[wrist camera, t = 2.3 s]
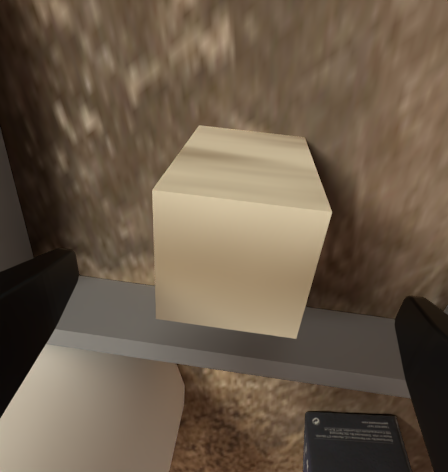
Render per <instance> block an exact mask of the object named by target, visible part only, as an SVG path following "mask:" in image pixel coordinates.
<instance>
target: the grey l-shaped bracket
mask: <svg viewBox="0 0 448 472" xmlns="http://www.w3.org/2000/svg"><path fill="white" fill-rule="evenodd" d="M33 258H34V257H33V253H32V249H31V245H30V242H29V238H28V234H27V230H26V226H25V222H24V218H23V214H22V210H21V206H20V203H19V199H18V195H17V191H16V187H15V183H14V179H13V175H12V171H11V168H10V164H9V160H8V156H7V152H6V148H5V144H4V140H3V136H2V132H1V129H0V272H1V271H3V270H6V269H8V268H11V267H13V266H16V265H18V264H20V263H23V262H25V261H28V260H30V259H33ZM444 312H445V313H446V314H448V305H447V307H446V308H445V310H444ZM46 344H48V345H55V346H62V347H68V348H75V349H82V350H88V351H95V352H102V353H109V354H115V355H122V356H129V357H136V358H142V359H149V360H156V361H162V362H169V363H176V364H183V365H189V366H196V367H203V368H209V369H216V370H223V371H230V372H236V373H243V374H250V375H257V376H263V377H270V378H277V379H283V380H290V381H297V382H304V383H310V384H317V385H324V386H330V387H337V388H344V389H351V390H357V391H364V392H371V393H377V394H384V395H391V396H398V397H404V398H411V397H410V394H409V391H408V388H407V384H406V381H405V376H404V372H403V367H402V362H401V357H400V352H399V346H398V341H397V336H396V331H395V319H390V318H383V317H375V316H368V315H361V314H354V313H346V312H339V311H332V310H325V309H318V308H310V307H305V310H304V313H303V317H302V320H301V324H300V327H299V331H298V334H297V338H296V339H294V338H287V337H280V336H273V335H266V334H259V333H252V332H244V331H237V330H230V329H223V328H216V327H209V326H202V325H195V324H188V323H181V322H174V321H167V320H160V319H156V302H155V286H151V285H144V284H137V283H129V282H122V281H115V280H108V279H100V278H93V277H86V276H79V279H78V282H77V284H76V287H75V289H74V291H73V293H72V295H71V297H70V299H69V301H68V303H67V306H66V308H65V310H64V312H63V314H62V316H61V318H60V320H59V322H58V324H57V326H56V328H55V330H54V332H53V333H52V335H51V337H50V338H49V340H48V342H47V343H46Z"/></svg>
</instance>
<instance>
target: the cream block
mask: <svg viewBox="0 0 448 472" xmlns="http://www.w3.org/2000/svg"><path fill="white" fill-rule="evenodd" d="M152 195H153V231H154V266H155V302H156V319H160V320H167V321H174V322H181V323H188V324H195V325H202V326H209V327H216V328H223V329H230V330H237V331H244V332H252V333H259V334H266V335H273V336H280V337H287V338H294V339H296V338H297V334H298V331H299V327H300V324H301V320H302V317H303V313H304V310H305V306H306V303H307V299H308V296H309V292H310V289H311V285H312V282H313V278H314V275H315V271H316V267H317V264H318V260H319V257H320V253H321V250H322V246H323V243H324V239H325V236H326V232H327V229H328V225H329V222H330V218H331V215H332V210H331V208H330V205H329V202H328V199H327V197H326V194H325V191H324V189H323V186H322V183H321V180H320V178H319V175H318V172H317V170H316V167H315V164H314V161H313V159H312V156H311V153H310V151H309V148H308V145H307V142H306V140H305V137H297V136H288V135H280V134H271V133H262V132H253V131H245V130H236V129H227V128H218V127H209V126H201V125H199V126H198V128H197V129H196V131H195V132H194V133H193V135H192V136H191V137H190V139H189V140H188V142H187V143H186V144H185V146H184V147H183V148H182V150H181V151H180V153H179V154H178V155H177V157H176V158H175V159H174V161H173V162H172V164H171V165H170V166H169V168H168V169H167V170H166V172H165V173H164V175H163V176H162V177H161V179H160V180H159V181H158V183H157V184H156V186H155V187H154V188H153V190H152Z"/></svg>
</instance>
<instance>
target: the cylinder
mask: <svg viewBox="0 0 448 472" xmlns="http://www.w3.org/2000/svg"><path fill="white" fill-rule="evenodd" d="M184 393H185V385H184V382H183V380H182V377H181V374H180V372H179V369H178V366H177V364H176V363H169V362H162V361H156V360H149V359H142V358H136V357H129V356H122V355H115V354H109V353H102V352H95V351H88V350H82V349H75V348H68V347H62V346H55V345H48V344H46V345H45V347H44V348H43V350H42V351H41V353H40V355H39V356H38V358H37V360H36V361H35V363H34V364H33V366H32V368H31V369H30V371H29V373H28V374H27V376H26V378H25V379H24V381H23V382H22V384H21V386H20V387H19V389H18V391H17V392H16V394H15V395H14V397H13V399H12V400H11V402H10V404H9V405H8V407H7V408H6V410H5V412H4V413H3V415H2V417H1V418H0V472H169V471H170V466H171V462H172V457H173V453H174V448H175V444H176V439H177V435H178V430H179V426H180V421H181V416H182V412H183V407H184Z"/></svg>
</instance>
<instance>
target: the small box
mask: <svg viewBox="0 0 448 472" xmlns="http://www.w3.org/2000/svg"><path fill="white" fill-rule="evenodd" d="M303 472H412V469H411V466H410V463H409V459H408V455H407V452H406V449H405V446H404V442H403V438H402V435H401V432H400V429H399V425H398V422H397V418H396V416H391V415H365V414H346V413H327V412H306V414H305V430H304V455H303Z"/></svg>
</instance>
